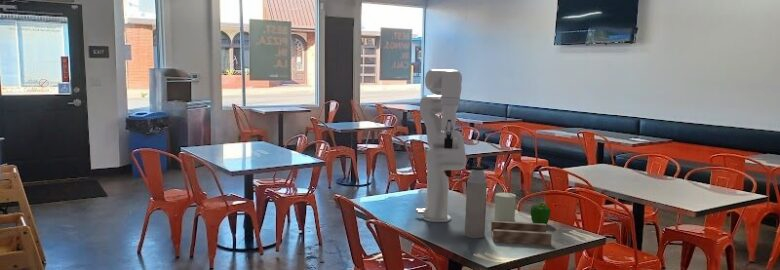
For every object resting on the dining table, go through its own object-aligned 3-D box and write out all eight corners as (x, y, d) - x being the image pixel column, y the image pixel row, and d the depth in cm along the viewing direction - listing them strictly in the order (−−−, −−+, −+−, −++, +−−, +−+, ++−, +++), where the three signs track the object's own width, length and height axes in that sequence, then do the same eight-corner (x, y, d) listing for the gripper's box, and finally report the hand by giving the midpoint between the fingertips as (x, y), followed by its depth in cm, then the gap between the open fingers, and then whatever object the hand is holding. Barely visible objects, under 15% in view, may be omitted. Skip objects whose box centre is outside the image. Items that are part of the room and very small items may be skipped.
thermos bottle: (484, 233, 242) (488, 165, 239) (483, 239, 234) (487, 169, 231) (465, 231, 244) (468, 164, 240) (463, 237, 236) (466, 167, 233)
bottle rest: (493, 241, 231) (493, 230, 230) (490, 231, 246) (491, 220, 245) (550, 245, 229) (551, 234, 228) (545, 234, 243) (545, 223, 243)
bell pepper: (527, 221, 263) (528, 199, 262) (545, 221, 264) (546, 199, 263) (533, 226, 255) (535, 203, 254) (552, 226, 256) (553, 203, 255)
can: (510, 224, 258) (511, 197, 257) (490, 220, 263) (491, 194, 261) (517, 219, 266) (519, 193, 264) (498, 216, 271) (499, 190, 269)
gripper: (441, 100, 243) (439, 144, 245) (440, 102, 226) (438, 150, 228) (459, 100, 242) (457, 144, 244) (459, 103, 225) (457, 150, 227)
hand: (448, 146), depth 236 cm, fingers open, 5 cm apart
